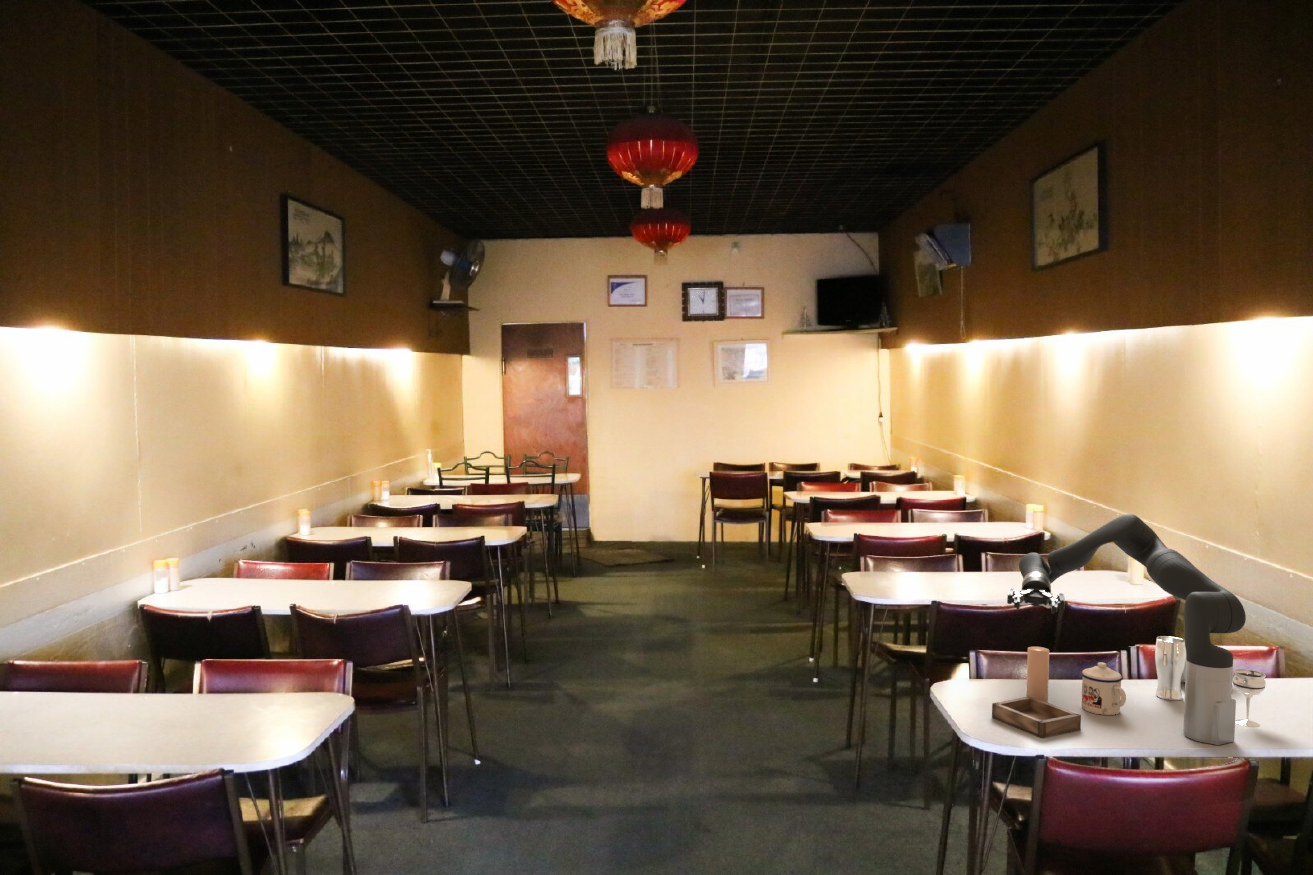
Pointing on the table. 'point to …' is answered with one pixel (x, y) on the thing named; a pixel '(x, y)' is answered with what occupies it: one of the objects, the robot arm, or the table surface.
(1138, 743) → the table surface
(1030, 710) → the tray
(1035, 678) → the canister
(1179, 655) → the beer glass
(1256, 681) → the wineglass
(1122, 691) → the teacup with lid
